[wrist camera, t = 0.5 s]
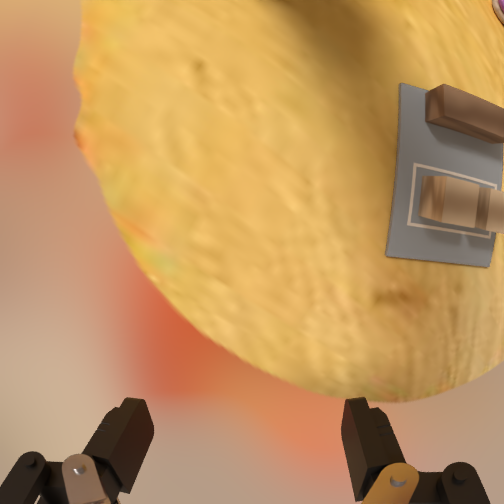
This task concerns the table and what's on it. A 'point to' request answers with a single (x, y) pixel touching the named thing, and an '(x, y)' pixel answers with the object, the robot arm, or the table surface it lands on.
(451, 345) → the table surface
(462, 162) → the board
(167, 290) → the table surface
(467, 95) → the lintel
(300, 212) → the table surface
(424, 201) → the tan wooden cube
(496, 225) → the pillar
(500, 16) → the stacking toy
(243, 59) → the table surface
